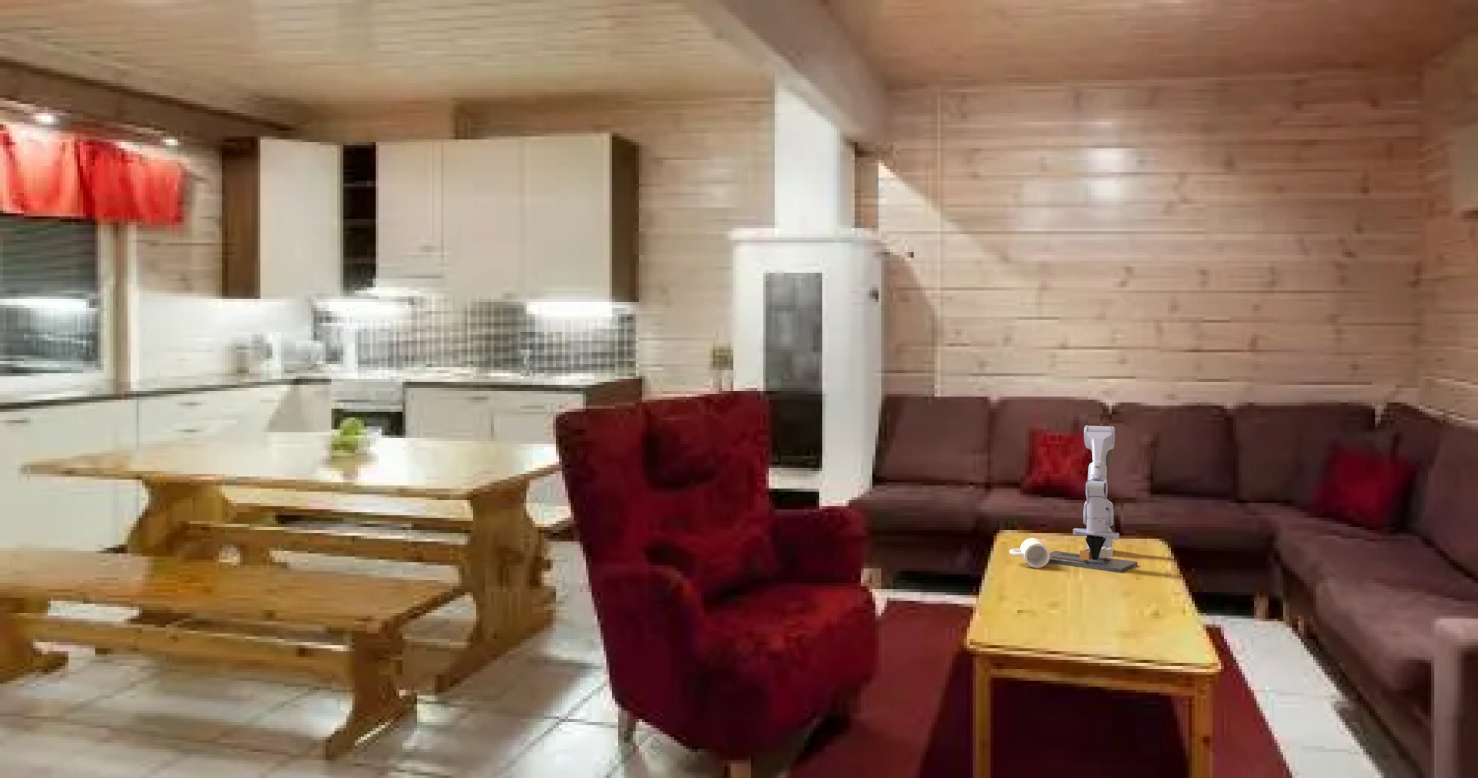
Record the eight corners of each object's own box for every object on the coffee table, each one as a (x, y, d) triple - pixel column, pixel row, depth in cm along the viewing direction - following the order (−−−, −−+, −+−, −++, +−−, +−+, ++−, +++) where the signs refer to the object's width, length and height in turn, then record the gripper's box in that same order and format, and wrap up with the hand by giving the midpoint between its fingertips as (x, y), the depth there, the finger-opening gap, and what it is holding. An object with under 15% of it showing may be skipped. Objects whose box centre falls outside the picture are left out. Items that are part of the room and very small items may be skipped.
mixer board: (1055, 554, 387) (1055, 550, 386) (1137, 565, 369) (1137, 561, 369) (1037, 561, 375) (1037, 557, 375) (1120, 572, 358) (1121, 568, 358)
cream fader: (1103, 557, 374) (1103, 546, 374) (1112, 558, 372) (1112, 547, 372) (1098, 559, 371) (1099, 548, 371) (1107, 560, 369) (1108, 549, 369)
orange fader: (1084, 559, 371) (1084, 548, 371) (1093, 560, 369) (1093, 549, 369) (1079, 561, 368) (1079, 550, 368) (1088, 562, 366) (1088, 551, 366)
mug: (1044, 562, 375) (1044, 538, 374) (1049, 568, 365) (1050, 543, 364) (1007, 561, 376) (1007, 537, 375) (1011, 567, 366) (1011, 543, 365)
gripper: (1069, 516, 367) (1068, 558, 368) (1113, 521, 358) (1112, 564, 359) (1078, 513, 373) (1077, 554, 374) (1121, 518, 364) (1121, 560, 364)
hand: (1095, 559), depth 367 cm, fingers closed
